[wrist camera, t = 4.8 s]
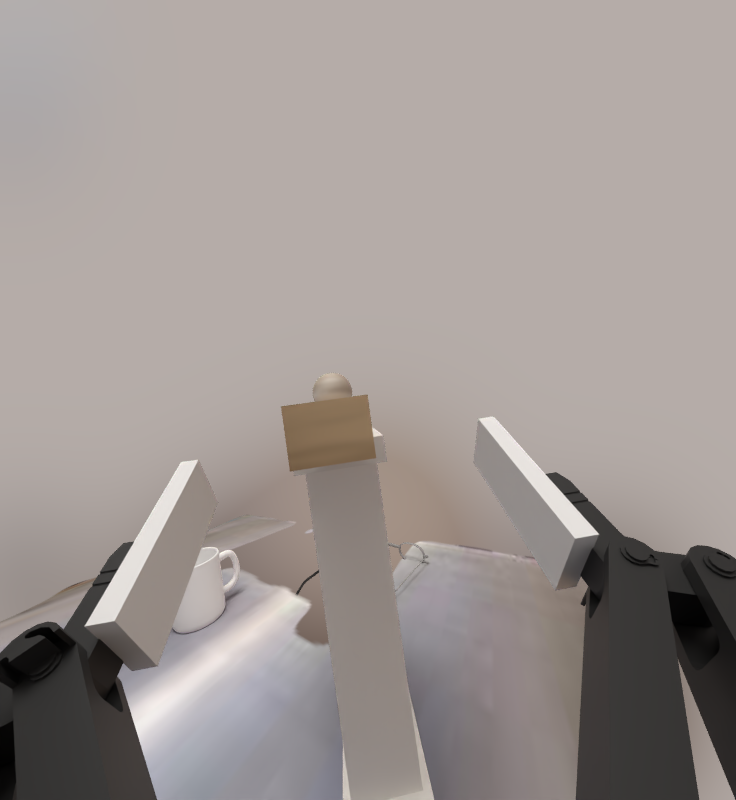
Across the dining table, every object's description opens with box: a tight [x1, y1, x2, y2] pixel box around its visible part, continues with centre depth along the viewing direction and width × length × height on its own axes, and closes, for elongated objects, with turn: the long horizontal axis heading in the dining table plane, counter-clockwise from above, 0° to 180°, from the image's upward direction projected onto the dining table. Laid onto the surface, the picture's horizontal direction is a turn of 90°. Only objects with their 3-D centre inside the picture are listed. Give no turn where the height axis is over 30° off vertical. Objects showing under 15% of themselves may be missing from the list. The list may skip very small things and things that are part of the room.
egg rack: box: [281, 373, 376, 471], centre depth 26 cm, size 24×4×6 cm, turn 5°
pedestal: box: [293, 427, 434, 800], centre depth 31 cm, size 15×7×30 cm, turn 5°
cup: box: [172, 547, 240, 633], centre depth 56 cm, size 8×12×10 cm
